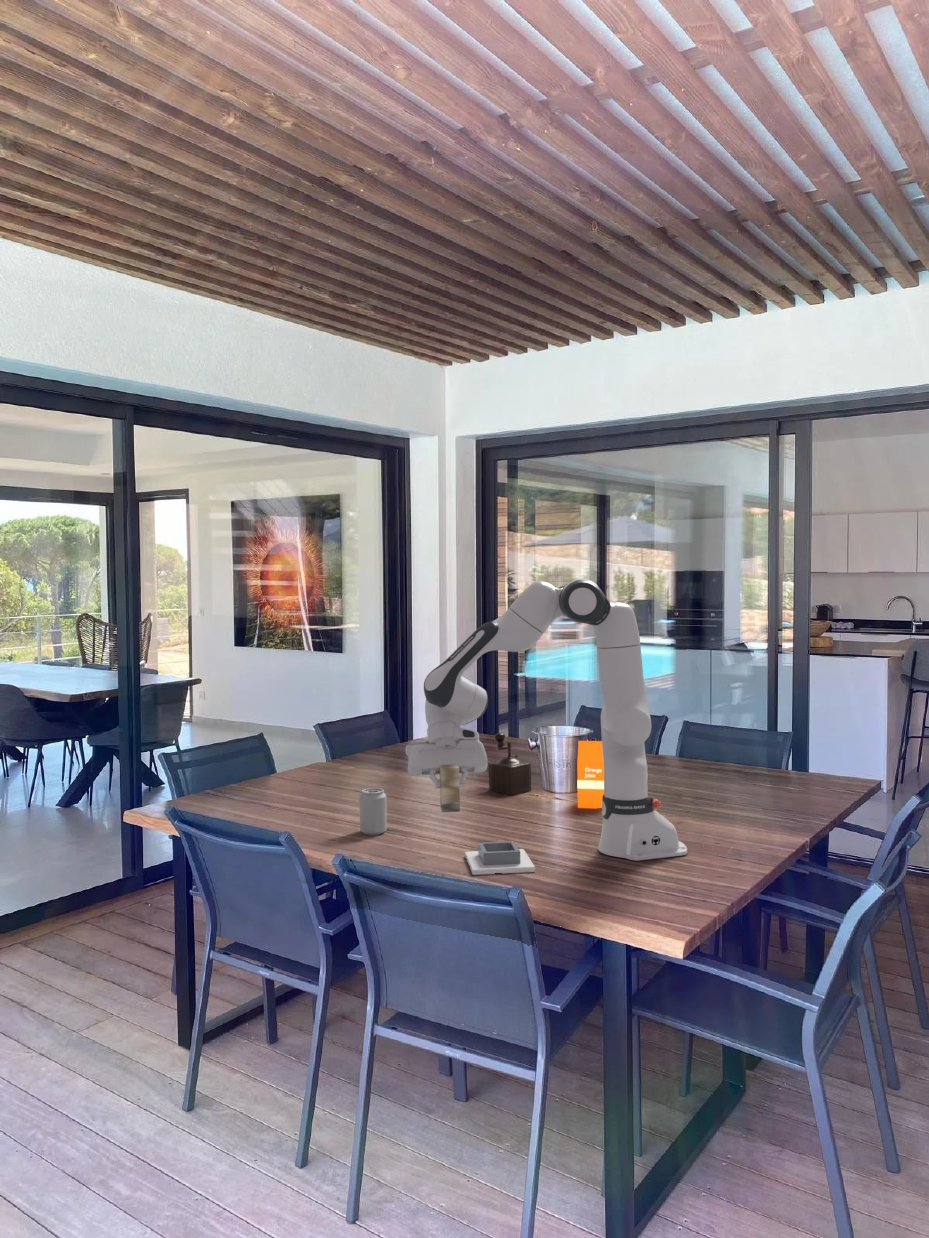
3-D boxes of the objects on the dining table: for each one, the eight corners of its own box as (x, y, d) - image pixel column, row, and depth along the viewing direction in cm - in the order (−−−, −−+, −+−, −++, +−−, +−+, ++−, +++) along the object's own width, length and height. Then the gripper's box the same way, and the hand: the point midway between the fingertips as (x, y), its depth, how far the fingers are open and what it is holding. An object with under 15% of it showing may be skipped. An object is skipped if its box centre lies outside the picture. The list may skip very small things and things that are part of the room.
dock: (523, 853, 236) (523, 837, 236) (535, 871, 221) (534, 854, 221) (465, 856, 234) (465, 839, 234) (472, 874, 220) (472, 857, 219)
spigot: (457, 807, 233) (456, 763, 233) (460, 811, 229) (458, 767, 228) (440, 808, 233) (439, 764, 232) (442, 812, 228) (441, 768, 228)
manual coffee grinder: (533, 790, 307) (533, 736, 306) (510, 796, 300) (509, 740, 299) (500, 783, 318) (500, 731, 318) (477, 788, 311) (476, 735, 310)
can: (387, 828, 262) (386, 786, 261) (386, 835, 254) (385, 792, 254) (361, 829, 262) (360, 787, 261) (359, 836, 254) (358, 793, 254)
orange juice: (606, 808, 281) (606, 743, 281) (577, 807, 283) (576, 742, 282) (607, 802, 289) (607, 739, 288) (579, 801, 291) (578, 738, 290)
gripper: (405, 735, 236) (408, 781, 226) (484, 731, 238) (491, 777, 229) (404, 749, 240) (407, 795, 231) (482, 746, 243) (488, 791, 233)
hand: (450, 786), depth 230 cm, fingers closed on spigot, 4 cm apart
